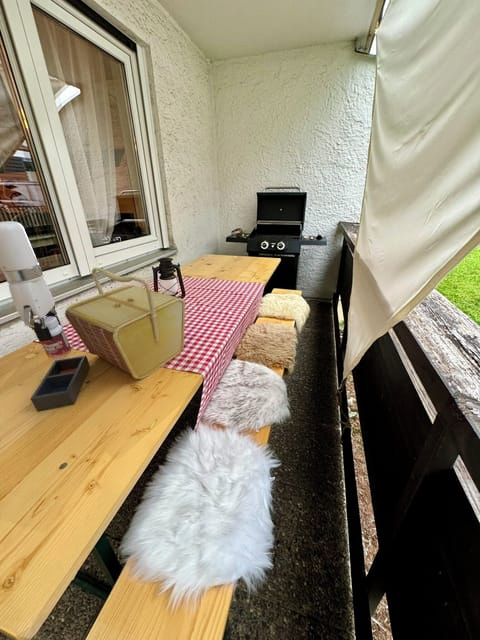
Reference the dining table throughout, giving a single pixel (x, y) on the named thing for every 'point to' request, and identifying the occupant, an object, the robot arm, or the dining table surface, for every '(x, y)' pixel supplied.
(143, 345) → the picnic basket
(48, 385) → the holder
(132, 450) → the dining table surface
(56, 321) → the pill bottle
